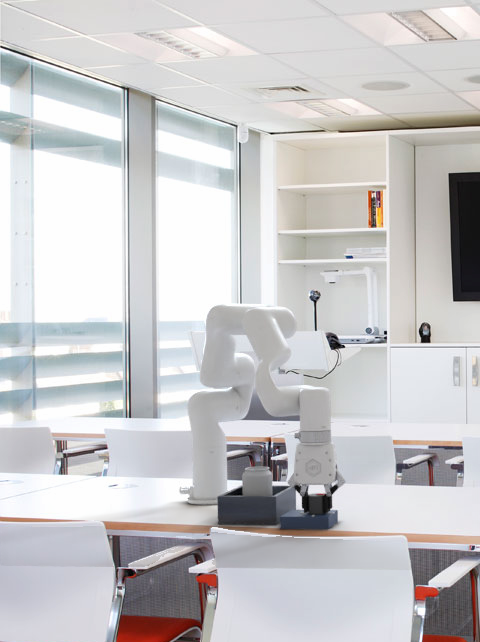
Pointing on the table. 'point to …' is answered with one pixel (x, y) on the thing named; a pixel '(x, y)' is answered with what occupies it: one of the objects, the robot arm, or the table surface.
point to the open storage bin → (255, 506)
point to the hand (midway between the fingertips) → (317, 511)
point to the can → (257, 481)
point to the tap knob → (316, 503)
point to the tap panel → (308, 520)
